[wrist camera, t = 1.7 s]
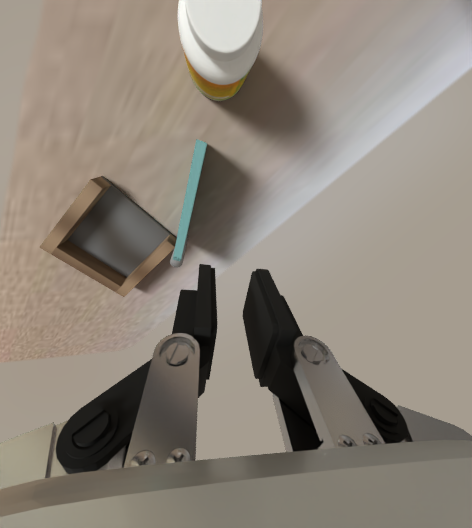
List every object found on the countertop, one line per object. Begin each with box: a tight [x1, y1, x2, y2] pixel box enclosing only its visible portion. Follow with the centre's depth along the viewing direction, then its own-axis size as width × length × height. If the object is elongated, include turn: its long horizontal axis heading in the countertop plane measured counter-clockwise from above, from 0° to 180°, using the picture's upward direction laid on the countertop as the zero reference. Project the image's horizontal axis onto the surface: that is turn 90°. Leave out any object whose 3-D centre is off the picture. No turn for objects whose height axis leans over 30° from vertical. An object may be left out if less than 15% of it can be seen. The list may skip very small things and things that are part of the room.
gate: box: [170, 139, 207, 267], centre depth 21 cm, size 1×12×7 cm, turn 162°
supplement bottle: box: [178, 0, 263, 101], centre depth 14 cm, size 5×5×10 cm
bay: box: [40, 176, 177, 297], centre depth 25 cm, size 10×10×2 cm
